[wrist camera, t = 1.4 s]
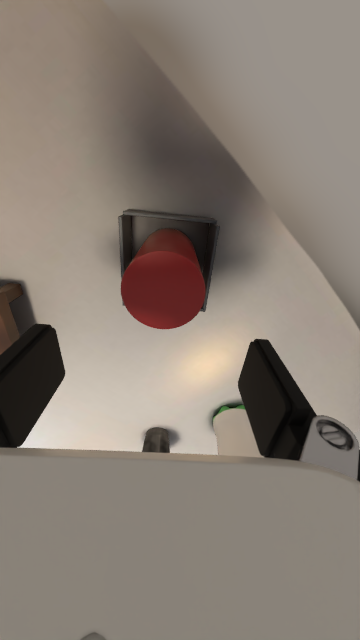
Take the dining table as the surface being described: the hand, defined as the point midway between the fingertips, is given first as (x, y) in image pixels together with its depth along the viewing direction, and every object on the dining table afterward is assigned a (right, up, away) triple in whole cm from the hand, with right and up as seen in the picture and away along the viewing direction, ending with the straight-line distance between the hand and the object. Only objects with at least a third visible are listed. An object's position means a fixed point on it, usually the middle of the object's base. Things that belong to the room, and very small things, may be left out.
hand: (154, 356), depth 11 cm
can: (0, +9, +15) cm, 18 cm away
